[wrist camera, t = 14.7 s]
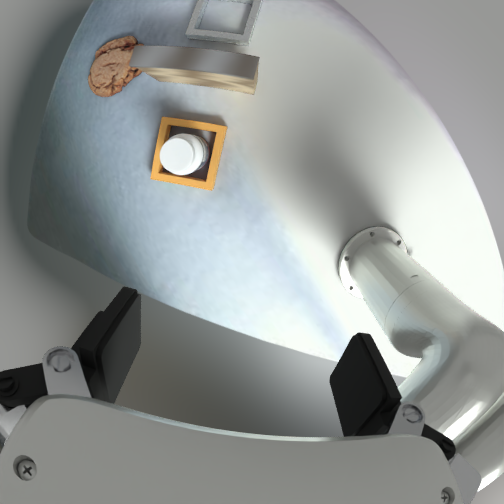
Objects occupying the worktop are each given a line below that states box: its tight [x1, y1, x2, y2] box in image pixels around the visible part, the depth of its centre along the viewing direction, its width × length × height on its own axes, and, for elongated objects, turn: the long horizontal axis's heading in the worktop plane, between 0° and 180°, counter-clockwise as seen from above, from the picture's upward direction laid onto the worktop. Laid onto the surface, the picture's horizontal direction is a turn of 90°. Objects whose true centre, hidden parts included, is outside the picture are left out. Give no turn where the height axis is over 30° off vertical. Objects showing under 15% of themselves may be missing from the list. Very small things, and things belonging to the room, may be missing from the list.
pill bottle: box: [160, 134, 210, 175], centre depth 33 cm, size 5×5×9 cm
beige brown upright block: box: [129, 46, 259, 95], centre depth 28 cm, size 14×3×11 cm, turn 77°
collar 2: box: [151, 117, 227, 191], centre depth 36 cm, size 9×9×2 cm
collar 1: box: [185, 0, 263, 46], centre depth 28 cm, size 9×9×2 cm
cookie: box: [88, 36, 144, 97], centre depth 30 cm, size 10×11×3 cm
